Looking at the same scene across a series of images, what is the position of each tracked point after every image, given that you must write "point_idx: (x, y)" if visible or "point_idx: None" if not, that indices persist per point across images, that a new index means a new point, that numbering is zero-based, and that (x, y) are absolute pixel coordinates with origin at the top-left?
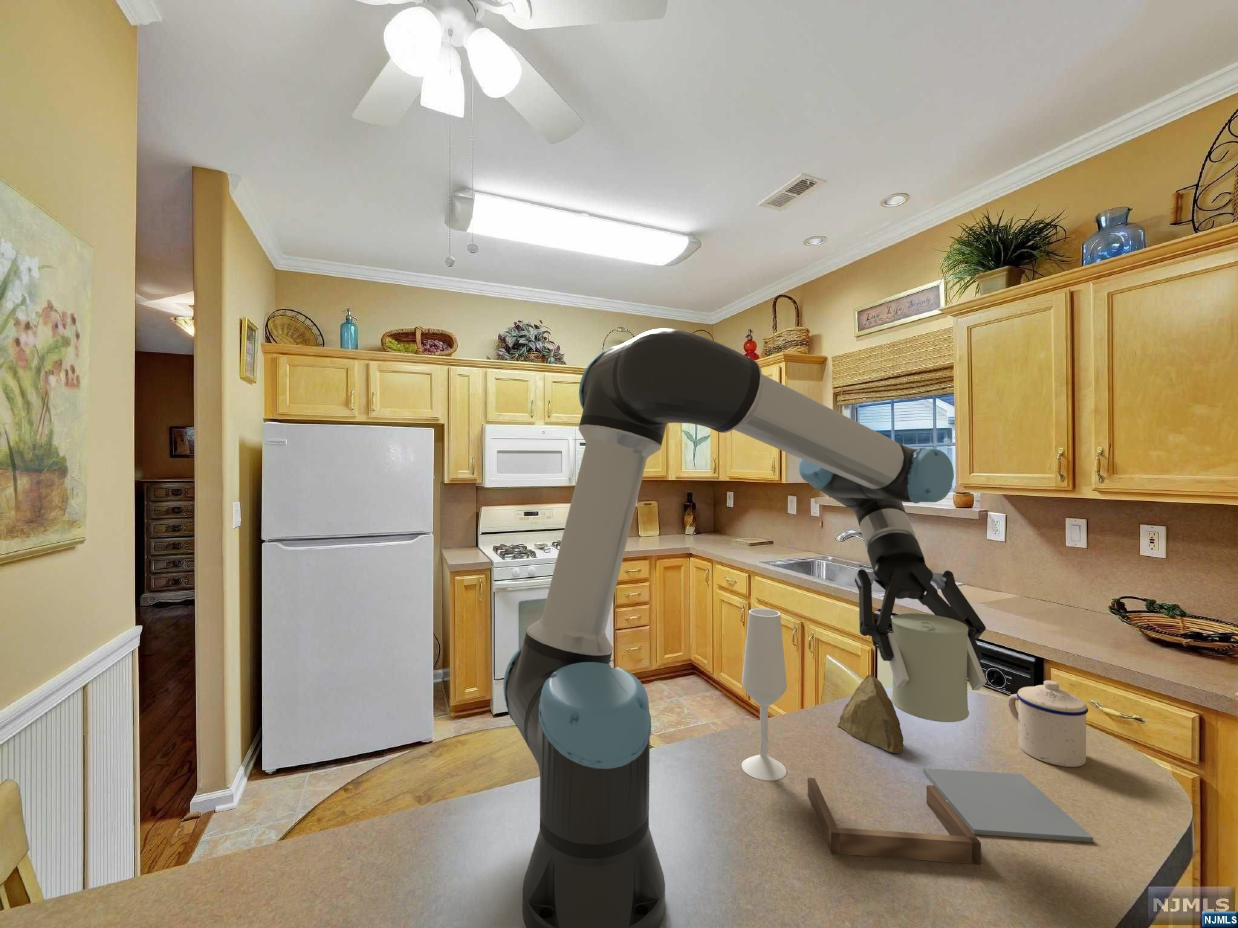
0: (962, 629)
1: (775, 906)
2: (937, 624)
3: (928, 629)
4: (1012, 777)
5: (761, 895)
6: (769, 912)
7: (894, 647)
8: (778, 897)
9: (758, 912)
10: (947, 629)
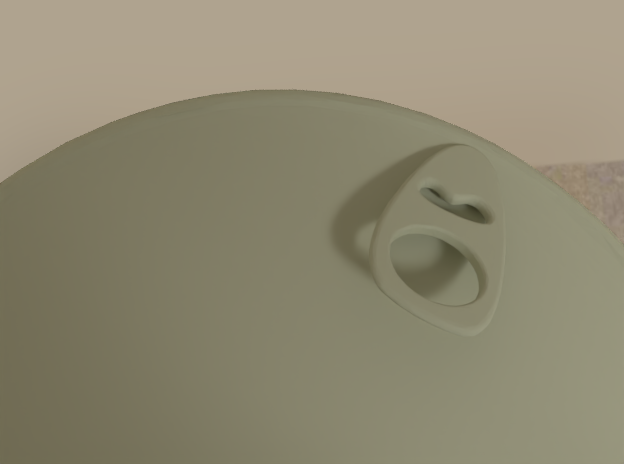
0: (30, 214)
1: (585, 181)
2: (228, 417)
3: (440, 159)
4: None
5: (605, 197)
6: (592, 171)
7: None
8: (582, 195)
9: (605, 170)
10: (213, 213)
